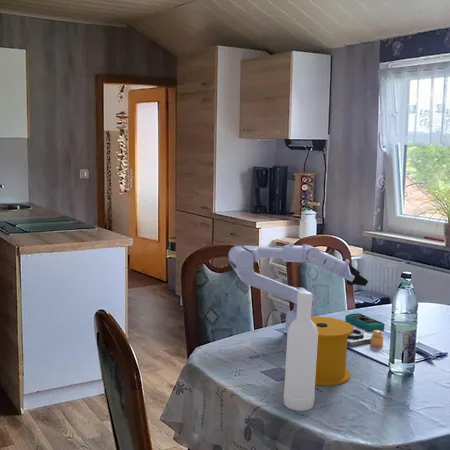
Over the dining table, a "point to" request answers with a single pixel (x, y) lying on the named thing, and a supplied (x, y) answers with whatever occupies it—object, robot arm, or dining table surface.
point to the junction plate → (358, 338)
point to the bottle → (301, 357)
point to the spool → (331, 350)
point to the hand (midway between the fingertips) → (362, 278)
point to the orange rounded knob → (377, 339)
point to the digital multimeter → (364, 322)
